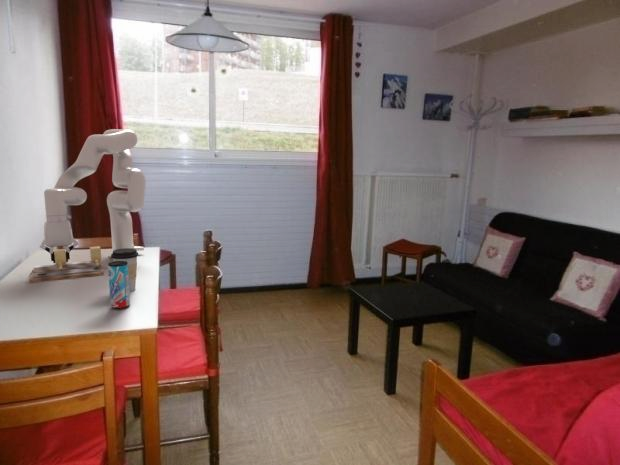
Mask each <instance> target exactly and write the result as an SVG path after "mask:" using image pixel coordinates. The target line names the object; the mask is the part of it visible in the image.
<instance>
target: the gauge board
mask: <svg viewBox="0 0 620 465" xmlns="http://www.w3.org/2000/svg"><path fill="white" fill-rule="evenodd" d="M98 265H99V267H98V268H96V262H92V263H91V260H88V261H87V260H86V261H77V262H67V265H62V271H60V267H59V266H56V265H55V263H53V264H45V265H37V266H36V265H35V266H33V269H31V271H30V276H29V283H30V284H31V283H42V282H50V281H59V280H70V279H76V278H77V279H78V278H87V277H96V276H104V275H105V274H104V273H105V272H104V269H103V265H102V263H101V262H98Z"/></svg>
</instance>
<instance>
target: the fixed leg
mask: <svg viewBox="0 0 620 465" xmlns="http://www.w3.org/2000/svg"><path fill="white" fill-rule="evenodd" d="M89 252H90V253H89V254H90V255H89V257H90V261H91V263H92V262H96V268H98V267H99V265H98V262H99V263H101V262H102V250H101V246H99V245H98V246H89Z"/></svg>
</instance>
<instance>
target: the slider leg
mask: <svg viewBox="0 0 620 465" xmlns="http://www.w3.org/2000/svg"><path fill="white" fill-rule="evenodd" d="M53 251H54V255H55V263H54V264H55V265H56V266H59V267H60V271H62V265H67V263H68V262H66V248H60V249H53Z"/></svg>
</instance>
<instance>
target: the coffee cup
mask: <svg viewBox="0 0 620 465" xmlns="http://www.w3.org/2000/svg"><path fill="white" fill-rule="evenodd" d="M112 252H113V254H111V257H110V258H111V259H112V262H114V261H126V262H128V275H129V293H131V292H134V291H135V290H136V282H137V273H138V272H137V271H138V257H139V251H137V252H136V249H132V248H124V249H117V250H114V251H113V250H112Z"/></svg>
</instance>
